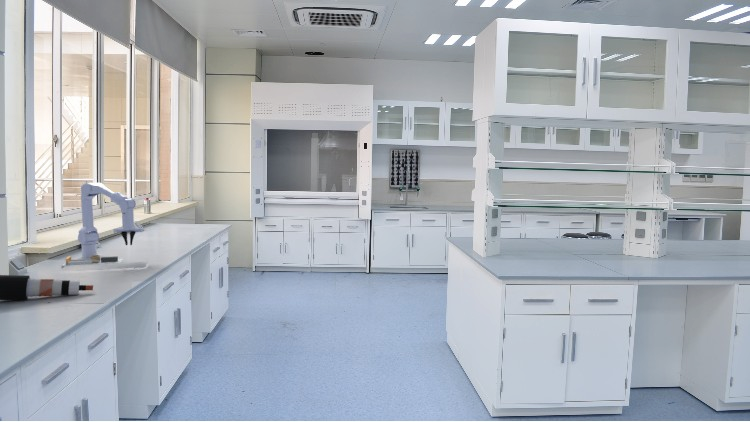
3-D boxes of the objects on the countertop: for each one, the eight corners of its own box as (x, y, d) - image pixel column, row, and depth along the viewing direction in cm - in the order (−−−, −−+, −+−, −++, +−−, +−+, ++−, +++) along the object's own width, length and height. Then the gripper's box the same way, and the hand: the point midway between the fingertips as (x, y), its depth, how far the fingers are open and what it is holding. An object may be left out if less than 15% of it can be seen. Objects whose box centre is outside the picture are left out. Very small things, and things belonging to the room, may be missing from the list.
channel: (66, 263, 286) (66, 255, 286) (123, 261, 295) (122, 253, 294) (61, 267, 276) (61, 259, 275) (120, 264, 284) (119, 256, 284)
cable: (91, 304, 224) (92, 286, 219) (-5, 305, 209) (-5, 285, 204) (93, 289, 232) (94, 271, 227) (1, 289, 216) (0, 269, 212)
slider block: (91, 261, 286) (91, 254, 286) (99, 260, 288) (99, 254, 287) (90, 262, 283) (90, 255, 283) (98, 261, 284) (98, 255, 284)
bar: (101, 261, 287) (101, 257, 287) (117, 260, 290) (117, 256, 290) (101, 262, 285) (100, 257, 285) (117, 261, 288) (117, 257, 287)
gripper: (112, 221, 282) (113, 246, 284) (141, 221, 287) (142, 245, 288) (114, 220, 289) (115, 244, 290) (142, 219, 294) (143, 243, 295)
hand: (128, 244), depth 290 cm, fingers closed
